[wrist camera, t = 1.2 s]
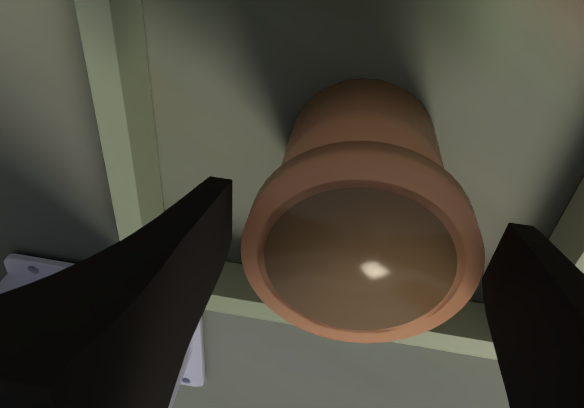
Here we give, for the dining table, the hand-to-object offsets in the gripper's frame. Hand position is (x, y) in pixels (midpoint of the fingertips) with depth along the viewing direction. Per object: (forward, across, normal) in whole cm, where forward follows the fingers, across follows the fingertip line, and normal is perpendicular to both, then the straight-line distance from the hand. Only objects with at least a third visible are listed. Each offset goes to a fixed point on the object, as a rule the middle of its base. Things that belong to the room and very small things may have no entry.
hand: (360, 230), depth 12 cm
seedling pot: (+5, 0, 0) cm, 5 cm away
